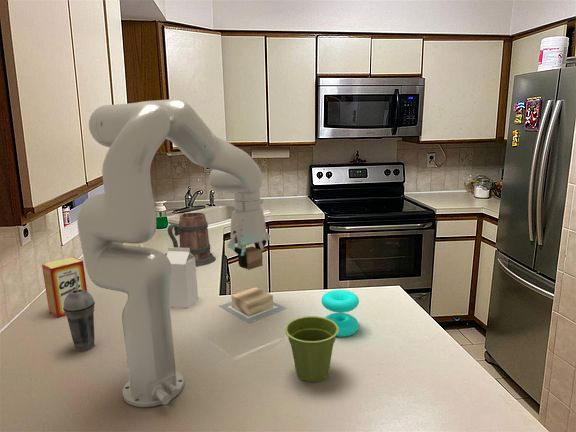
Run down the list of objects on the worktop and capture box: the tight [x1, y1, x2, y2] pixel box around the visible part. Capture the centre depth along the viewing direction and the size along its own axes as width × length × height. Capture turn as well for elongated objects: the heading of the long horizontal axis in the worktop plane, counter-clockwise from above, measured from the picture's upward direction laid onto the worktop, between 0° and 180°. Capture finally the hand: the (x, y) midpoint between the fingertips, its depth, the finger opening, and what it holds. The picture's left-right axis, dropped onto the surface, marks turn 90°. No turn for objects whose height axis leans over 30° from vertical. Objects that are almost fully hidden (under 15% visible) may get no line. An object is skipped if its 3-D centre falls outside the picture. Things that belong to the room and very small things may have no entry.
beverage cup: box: [63, 272, 95, 352], centre depth 107 cm, size 7×7×20 cm
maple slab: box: [230, 286, 274, 316], centre depth 128 cm, size 9×9×4 cm
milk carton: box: [167, 246, 199, 309], centre depth 132 cm, size 7×7×19 cm
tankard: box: [164, 212, 217, 268], centre depth 174 cm, size 24×17×20 cm
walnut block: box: [244, 246, 263, 271], centre depth 126 cm, size 5×5×5 cm
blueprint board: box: [219, 301, 287, 324], centre depth 129 cm, size 16×14×1 cm
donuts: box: [321, 289, 360, 338], centre depth 114 cm, size 10×10×10 cm
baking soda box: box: [41, 256, 88, 319], centre depth 131 cm, size 10×6×16 cm
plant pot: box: [284, 315, 339, 383], centre depth 94 cm, size 12×12×11 cm
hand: (250, 264), depth 126 cm, fingers closed on walnut block, 5 cm apart
